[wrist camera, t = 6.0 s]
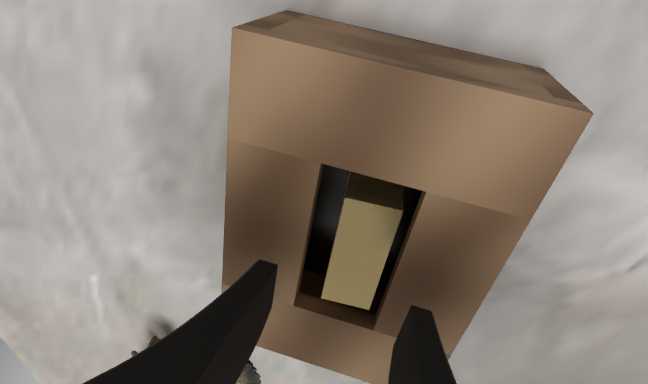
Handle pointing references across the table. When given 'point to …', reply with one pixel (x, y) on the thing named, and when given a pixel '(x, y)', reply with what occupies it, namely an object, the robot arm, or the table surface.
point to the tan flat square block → (362, 239)
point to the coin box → (383, 173)
